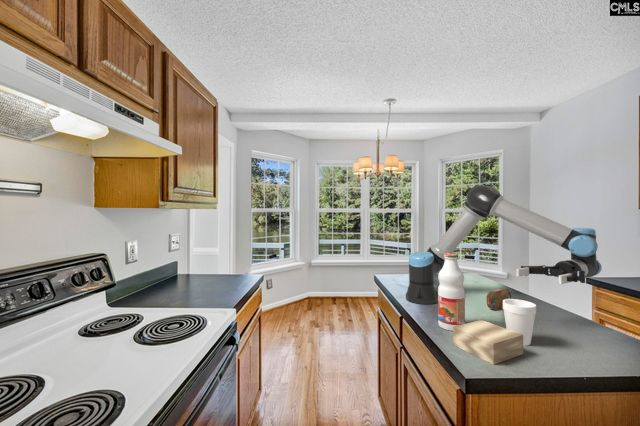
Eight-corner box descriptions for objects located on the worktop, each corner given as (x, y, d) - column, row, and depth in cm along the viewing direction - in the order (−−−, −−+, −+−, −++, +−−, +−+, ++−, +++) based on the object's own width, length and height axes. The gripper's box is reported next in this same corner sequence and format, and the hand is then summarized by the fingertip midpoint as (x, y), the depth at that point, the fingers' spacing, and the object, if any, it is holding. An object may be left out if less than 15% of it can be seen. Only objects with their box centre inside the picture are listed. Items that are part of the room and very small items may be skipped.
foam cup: (537, 350, 93) (537, 309, 93) (503, 343, 98) (502, 304, 98) (534, 339, 101) (534, 301, 101) (503, 333, 106) (502, 297, 106)
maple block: (453, 344, 97) (452, 326, 97) (481, 336, 103) (481, 319, 103) (493, 364, 85) (493, 343, 85) (523, 354, 91) (523, 334, 91)
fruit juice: (469, 331, 108) (469, 255, 108) (444, 332, 108) (443, 255, 108) (458, 322, 117) (457, 252, 117) (434, 322, 117) (433, 252, 117)
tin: (491, 311, 129) (491, 292, 129) (485, 309, 131) (484, 291, 131) (512, 306, 136) (511, 288, 136) (505, 304, 138) (504, 286, 138)
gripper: (614, 287, 101) (581, 295, 92) (535, 274, 123) (502, 279, 114) (613, 265, 101) (580, 271, 92) (534, 256, 123) (502, 260, 114)
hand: (537, 276), depth 103 cm, fingers open, 13 cm apart
